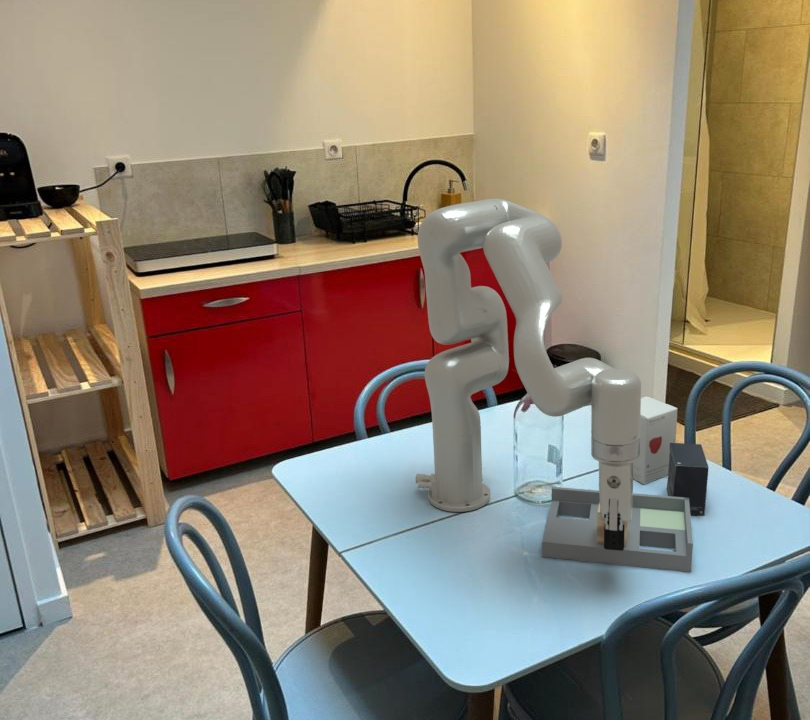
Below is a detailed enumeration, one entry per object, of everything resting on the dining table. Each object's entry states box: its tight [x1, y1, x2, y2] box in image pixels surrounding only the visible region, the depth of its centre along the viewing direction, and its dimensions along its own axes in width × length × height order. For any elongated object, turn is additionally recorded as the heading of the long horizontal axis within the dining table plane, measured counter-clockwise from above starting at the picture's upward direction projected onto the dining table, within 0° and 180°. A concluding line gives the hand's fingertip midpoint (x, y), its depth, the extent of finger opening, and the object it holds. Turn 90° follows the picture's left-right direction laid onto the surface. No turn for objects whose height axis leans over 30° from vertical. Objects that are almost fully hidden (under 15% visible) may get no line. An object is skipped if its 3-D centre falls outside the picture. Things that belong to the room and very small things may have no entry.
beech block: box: [597, 502, 629, 546], centre depth 144 cm, size 5×5×6 cm
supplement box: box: [633, 395, 678, 485], centre depth 171 cm, size 9×9×15 cm
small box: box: [666, 442, 709, 516], centre depth 159 cm, size 11×6×10 cm, turn 168°
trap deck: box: [541, 486, 694, 573], centre depth 148 cm, size 25×16×6 cm, turn 74°
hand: (614, 547), depth 137 cm, fingers closed
